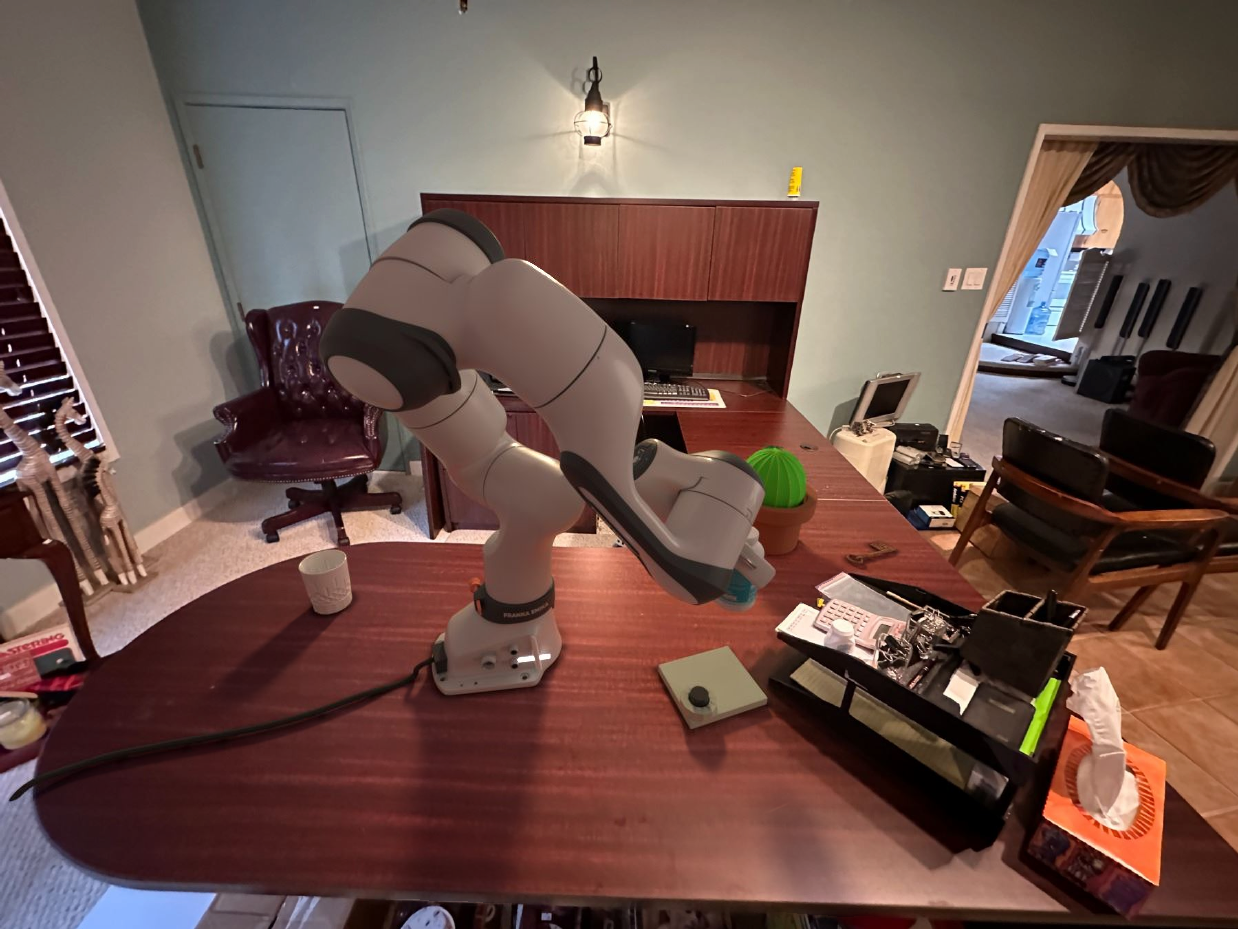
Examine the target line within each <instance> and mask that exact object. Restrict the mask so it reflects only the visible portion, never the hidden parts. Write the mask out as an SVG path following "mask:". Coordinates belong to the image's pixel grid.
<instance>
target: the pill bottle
mask: <svg viewBox="0 0 1238 929" xmlns="http://www.w3.org/2000/svg"><path fill="white" fill-rule="evenodd" d="M758 538H759V532H758V530H757V529H756V528H754V527H753V526H752V529H751V531H750V533H749V535H748V538H747V540H746V543H748V544H749V545H750V546H751V547H752V548H753V549H755V550H756V551H757V552H758V553H759V554H760V555H761V556H762V557H763V558H764V559H765V554H764V549H763V547H762V545H761V544H760V543H759V542H758ZM733 570H734V571H733V574H732V577H731V580H730V583H729V586H728V589H727V592H726V594H724V595H723V596H721V597H719V598H717V599H715V600H713V601H712V602H714V603H715V604H716V605H717V606H718V607H720V608H722V609H723V610H726V611H728V612H729V611H730V612H733V613H742V612H745V611H749V610H750V609H751V608H752V607H753V606H754V605H755V602H756V598H757V593H758V589H759V588H757V587H756V586H755V585H754V584H752V583H751V582H750V581H749V580H748V579H747V578H746V577H744V576H743V575H742V574H741V573H740V572H739V571H738V570H737V569H735V568H733Z"/></svg>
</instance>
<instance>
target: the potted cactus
mask: <svg viewBox="0 0 1238 929" xmlns="http://www.w3.org/2000/svg"><path fill="white" fill-rule="evenodd" d="M792 452H793V451H788V450H787V448H784V447H783V446H781V445H780V446H779V445H776V446H774V445H772V444H767V445H764V447H762V448H761V449H759V450H756V451H755V452H754V453H753V454H752V455H750V456H748V458H746V457H745V459H746V460H745V461H746V462H747V463H749V464H750V465H751V466H752V467H753V469H754V470H755V471H756V472H757V474H758V475H759V477H760V478H761V480H762V482H763V484H764V487H765V491H766V495H765V497H764V499H763V502H762V505H761V507H760V509H759V512H758V514H757V516H756V518H755V521H754V523H753V525H752V526H753V527H754V528H756V529H757V530H758V532H759V538H758V542H759V543H760V544H761V545H762V547H763V549H764V556H782V555H783V556H784V555H786V554H789V553H791V552H792V551H793V550H794V549H795V548H796V546H797V545H798V541H799V537H800V532H801V528H802V525H804V524H806V523H808V522H809V521H810V520H812V519H813V517H814V515H815V513H816V509H817V505H818V500H819V499H818V498H819V497H818V494H817V492H816V491H815V489H814V488H813V487H811V486H810V485H809V484H807V482H808V481H809V480H808V479H807V475H808V472H806V470H805V468H804V465H803V461H801V462H800V460H799V459H798V455H794V454H793V453H792Z"/></svg>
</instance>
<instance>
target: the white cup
mask: <svg viewBox="0 0 1238 929" xmlns="http://www.w3.org/2000/svg"><path fill="white" fill-rule="evenodd" d="M298 571H299V573H300V576H301V579H302V583H303V585H304V588H305V591H306V593H307V596H308V599H309V600H310V602H311V605H312V607H313V610H314V612H315V613H317V614H320V615H330V614H331V615H332V614H335V613H338V612H340V611H343V610H344V609H346V608H347V607H348V606H349V605H350V604H351V602H352V600H353V594H352V587H351V586H352V584H351V576H350V570H349V565H348V558H347V554H346V553H345V552H344V551H342V550H339V549H325V550H320V551H317V552H314V553H312V554H309V555H307V556H306V557H304V558H303V559H302V560H301V561H300V562H299V565H298Z"/></svg>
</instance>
